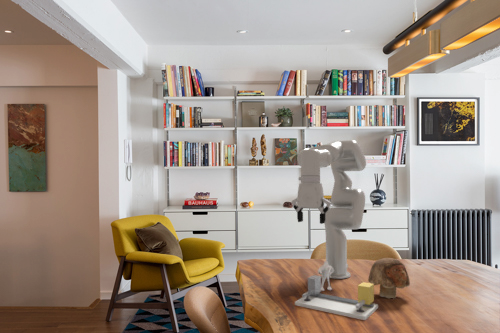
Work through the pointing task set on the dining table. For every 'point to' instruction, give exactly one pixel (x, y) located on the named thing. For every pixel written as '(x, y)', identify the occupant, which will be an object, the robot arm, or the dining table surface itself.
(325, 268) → the figurine
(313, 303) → the hole plate
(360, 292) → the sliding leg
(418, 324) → the dining table surface
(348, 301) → the rail
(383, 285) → the sculpture
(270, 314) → the dining table surface
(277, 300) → the dining table surface
